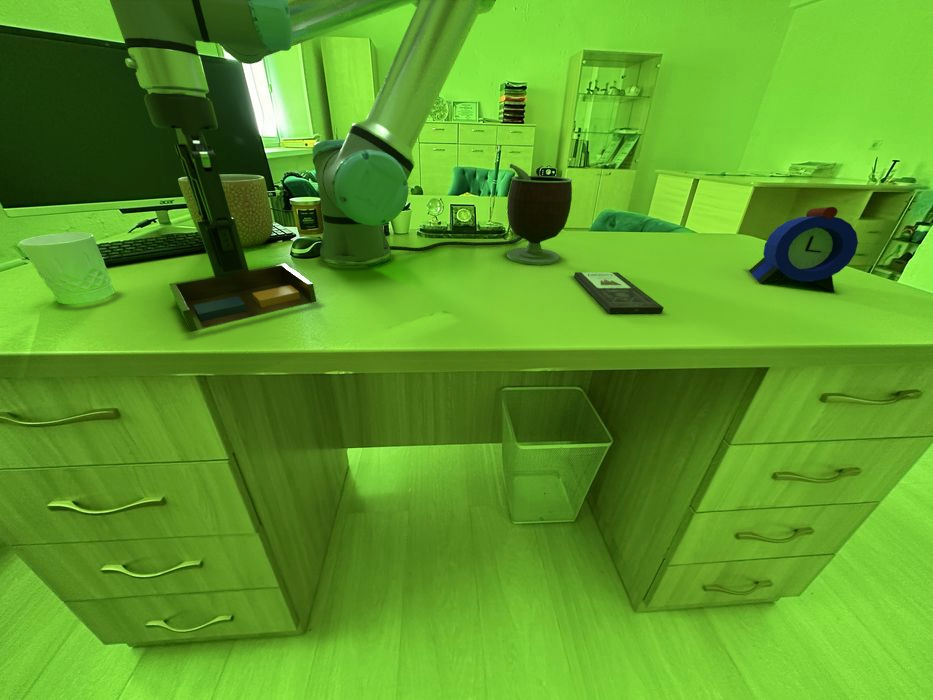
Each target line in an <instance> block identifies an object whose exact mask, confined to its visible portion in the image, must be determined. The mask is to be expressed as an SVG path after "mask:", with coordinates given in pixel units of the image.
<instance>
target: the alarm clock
mask: <svg viewBox="0 0 933 700" xmlns="http://www.w3.org/2000/svg"><path fill="white" fill-rule="evenodd" d="M838 212H839V211H838V209H837V207H835V206H828V207H827V206H826V207H825V206H824V207H815V208H810V209H808V210H807V212H806V214H805V216H799V217H796V218H793V219H790V220H787V221H786V222H784V223H783V224H781V225H779V226H777V227H776V228H775V229H774V230H773V232H772V233H770V234H769V236H768V238H767V240H766V242H765V243H764V248H763V254H762V255H763V258H761V259H760V260H759V261H758V262H757V263H755V264H754V265H753V266H752V267H751V268H750V269H749V270H748V272H749V273H750V274H751V275H752V277H754V278H755V280H756V281H757V282H758V283H759V284H760V285H761V284H766V283H771V282H776V281H781V280H786V278H788V279H792V280H795V281H799V282H813V283H816V284H817V285H819V286H821V287H823V288H825V289H826V290H828V291H830V292H832V293H835V287H834V286H835V285H834V280H833V276H834V275H836V274H838V273H840V272H841V271H842V270H843V269H845V268H846V267H847V266H848V265H849V264H850V262H851V261H852V260H853V258H854V256H855V255H856V253H857V247H858V245H859V241H858V235H857V231H856V230H855V228H854V227H853V226H852V224H851V223H850V222H848V221H846V220H845V219H843V218H841V217H837V215H838Z"/></svg>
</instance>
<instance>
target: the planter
mask: <svg viewBox="0 0 933 700" xmlns="http://www.w3.org/2000/svg"><path fill="white" fill-rule="evenodd" d="M219 175H220V178H221V182H222V186H223V189H224V193H225V197H226V200H227V204H228V208H229V211H230V215H231V218H234V219H235V223H236V226H237V230H238V234H239V237H240V241H241V244H242V248H243V250H245V249H252V248H255V247H260V246H262V245H264V244H266V243H267V242H268V240H269V239H270V238H271V236H272V235H273V231H274V221H273V220H274V219H273V214H272V208H271V203H270V199H269V194H268V193H269V192H268V188H267V183H266V179H265V177H264V176H262V175H257V174H241V173H240V174H239V173H237V174H236V173H234V174H226V173H225V174H219ZM177 182H178V186H179V188H180V191H181V193H182V197H183V199H184V201H185V205H186V207H187V209H188V213H189V215H190V217H191V220H192V222H193V224H194V226H195V229H196V231H197V232H198V234H199V236H200V237H201V234H200V231H199V228H198V225H197V222H196V221H201V220H202V218H201V217H200V216H199V214H198V209H197V206H196V203H195V200H194V197H193V194H192V191H191V188H190V185H189V182H188V179H187V176H182V177H179V178H178V179H177Z"/></svg>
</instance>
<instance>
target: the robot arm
mask: <svg viewBox="0 0 933 700" xmlns="http://www.w3.org/2000/svg"><path fill="white" fill-rule="evenodd" d="M496 1H497V0H109V2H110V6H111V8H112V11H113V13H114V17H115V19H116V22H117V25H118V28H119V30H120V33H121V35H122V39H123V42H124V44H125V45H124V46H125V47H126V49H127V53H128V55H129V56H130V58H129V57H126V58H125V60H124V61H125V65H126V67H127V68H129V69H136V72H135V76H136V79H137V82H138V84H139V87H140V88H142V89H143V90H146V91H147V94H144V97H143V100H144V103H145V106H146V109H147V112H148V116H149V118H150V121H151V123H152V125H153V127H155V128H159V129H174V130H175V132H176V138H177V141H178V143H174V144H173V146H174V149H175V152H176V153H175V154H176V155H177V157H179V159H180V162H181V164H182V168H183V172H184V174H185V177H187V179H188V182H189V185H190V188H191V191H192V194H193V197H194V200H195V203H196V206H197V209H198V214H199V216H200V217H201V218H202V220H209V222H210V226H205V228H206V230H207V231H208V230H210V231H211V234H212V237H213V240H214V243H215V247H216V250H217V253H218V256H219V259H220V262H221V266H222V269H223V271H224V272H228V271H234V270H239V269H243V267H242V263H241V260H240V256H239V253H238V249H237V246H236V243H235V239H234V236H233V232H232V229H231V226H233V220H232V218H231V215H230V211H229V208H228V204H227V200H226V197H225V193H224V189H223V186H222V182H221V178H220V175H221V174H220V172H219V167H218V163H217V155H216V153H215V152H214V149H213V147H212V145H211V144H207V142H206V139H205V136H204V134H203V131H202V130H217V129H218V127H219V124H218V120H217V116H216V112H215V109H214V105H213V102H212V101H211V100H210V98H208V97H206V95H207V94H209V92H210V89H209V85H208V81H207V78H206V74H205V71H204V67H203V63H202V58H201V56H200V54H199V49H198V48H197V42H203V43H208V44H210V43H211V44H218V45H219V46H220V47H221V48H222V49H223V51H224V52H225V53H226V54H227V55H228V56H229V57H231V58H232V59H233V60H235V61H237V62H239V63H242V64H246V65H247V64H248V65H252V64H256V63H259V62H261V61H262V60H263V59H264V58H265V57H267V56H271V55H273V54H276V53H279V52H280V51H282V52H287V51H289V50H291V49H292V47H294V46H296V45H299V44H302V43H305V42H309V41H310V40H313V39H316V38H319V37H322V36H325V35H328V34H330V33H332V32H333V33H334V32H335V31H338V30H341V29H344V28H346V27H349V26H353V25H355V24H357V23H360V22H363V21H366V20H368V19H371V18H374V17H377V16H381V15H383V14H385V13H388V12H391V11H394V10H396V9H400V8H402V7H405V6H407V5H413V6H414V7H415V11H414V13H413V14H412V17H411V19H410V21H409V23H408V26H407V28H406V29H405V30H406V31H405V33H404V34H403V37H402V39H401V41H400V43H399V46H398V48H397V50H396V52H395V54H394V56H393V59H392V61H391V63H390V65H389V68H388V70H387V72H386V74H385V77H384V78H383V81H382V83H381V85H380V87H379V89H378V92H377V94H376V96H375V99H374V101H373V103H372V105H371V108H370V110H369V112H368V114H367V116H366V119H364V120H362V121H358V122H354V123H352V125H350V128H349V131H348V133H347V135H346V137H345V139H328V140H320V141H316V142H315V143H314V144H313V146H312V163H313V166H314V170H315V175H316V184H317V189H318V193H319V201H320V207H321V214H322V218H323V219H322V220H323V229H322V237H321V242H320V251H319V255H320V260H321V261H323V262H324V263H326V264H331V265H335V266H348V267H349V266H350V267H351V266H352V267H353V266H366V267H368V268H371V267H376V266H380V265H383V264H385V263H388V262H389V261H390V260H392V251H403V252H404V251H405V252H415V253H416V252H425V251H429V250H432V249H435V248H439V247H444V246H469V247H489V246H491V247H493V246H494V247H495V246H507V245H513V244H514V245H515V244H516V243H518V242H520V241H522V240H524V239H523V238H522V237H520V236H517V238H515V239H511V240H504V241H502V240H501V241H440V242H436V243H432V244H429V245H425V246H422V247H421V246H419V247H410V246H399V245H398V246H397V245H390V244H389V242H388V238H387V236H386V233H385V232H384V229H383V226H382V225H385V224H386V225H387V224H388V223H390V222H392V221H393V220H394V219H396V218H397V217H398V216H400V215H401V213H402V211H403V210H404V208H405V207H406V204H407V202H408V198H409V183H408V181H409V178H410V177H411V174H412V172H413V169H414V168H415V165H416V164H415V161H414V157H413V153H412V151H413V149H414V147H415V145H416V143H417V140H418V139H419V137H420V135H421V132H422V130H423V128H424V126H425V124H426V122H427V120H428V118H429V116H430V114H431V113H432V109H434V106H435V104H436V102H437V100H438V97H439V95H440V94H441V91H442V90H443V87H444V85H445V83H446V81H447V80H448V77H449V75H450V73H451V71H452V69H453V67H454V65H455V64H456V61H457V59H458V57H459V54H460V53H461V50H462V48H463V46H464V44H465V42H466V40H467V38H468V37H469V34H470V32H471V30H472V28H473V26H474V23H475V22H476V19H477V17H478V16H479V15H482V14H483V15H484V14H488V13H489V12H491V10H492V9H493V8H494V5H495V3H496Z"/></svg>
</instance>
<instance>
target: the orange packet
mask: <svg viewBox="0 0 933 700" xmlns="http://www.w3.org/2000/svg"><path fill="white" fill-rule="evenodd" d="M252 295H253V298H254V300H255V301H256V302H257V304H258V305H259V306H260V307H261V308H262V307H266V306H271V305H275V304H279V303H284V302H288V301H292V300H297V299H300V294H299V291H297V290H296V289H295V288H294V287H292V286H291V285H289V286H284V287H279V288H274V289H269V290H265V291H260V292H255V293H252Z"/></svg>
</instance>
